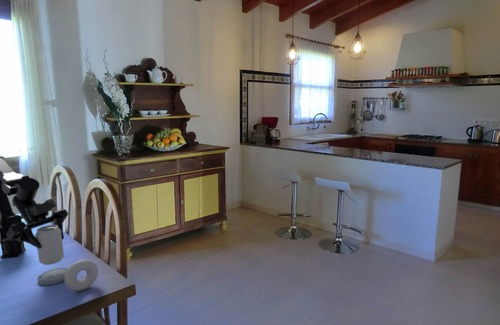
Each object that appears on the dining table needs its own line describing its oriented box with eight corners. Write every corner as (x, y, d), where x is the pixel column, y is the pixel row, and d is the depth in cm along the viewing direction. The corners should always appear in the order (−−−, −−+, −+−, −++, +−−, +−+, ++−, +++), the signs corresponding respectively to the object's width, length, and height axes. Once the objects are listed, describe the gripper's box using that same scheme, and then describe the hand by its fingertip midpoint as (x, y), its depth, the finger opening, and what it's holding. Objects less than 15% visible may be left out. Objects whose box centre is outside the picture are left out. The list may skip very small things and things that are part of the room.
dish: (32, 287, 111) (32, 284, 111) (44, 271, 121) (44, 269, 121) (65, 283, 113) (65, 280, 113) (75, 269, 123) (75, 266, 122)
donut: (68, 298, 105) (64, 268, 103) (64, 293, 107) (60, 264, 105) (101, 285, 112) (98, 256, 110) (97, 281, 114) (94, 253, 112)
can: (53, 266, 113) (48, 232, 111) (34, 265, 115) (28, 231, 113) (69, 256, 121) (65, 224, 118) (50, 255, 122) (46, 223, 120)
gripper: (5, 201, 107) (31, 240, 104) (61, 187, 123) (85, 220, 120) (-5, 221, 112) (20, 259, 109) (51, 205, 128) (73, 238, 125)
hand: (52, 243), depth 116 cm, fingers closed on can, 7 cm apart
